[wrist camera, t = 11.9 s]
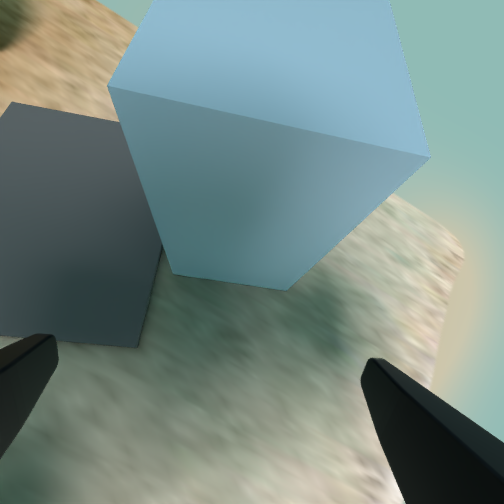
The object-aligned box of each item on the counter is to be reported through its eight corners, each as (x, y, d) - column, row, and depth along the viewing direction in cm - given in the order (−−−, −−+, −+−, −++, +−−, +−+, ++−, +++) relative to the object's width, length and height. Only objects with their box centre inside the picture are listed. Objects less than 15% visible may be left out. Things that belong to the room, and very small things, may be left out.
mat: (137, 348, 14) (135, 347, 14) (-137, 322, 13) (-147, 321, 12) (189, 139, 21) (189, 135, 20) (15, 106, 19) (11, 101, 19)
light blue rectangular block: (286, 290, 17) (430, 157, 6) (172, 274, 16) (107, 85, 5) (291, 174, 21) (382, -27, 10) (202, 156, 20) (198, -83, 9)
